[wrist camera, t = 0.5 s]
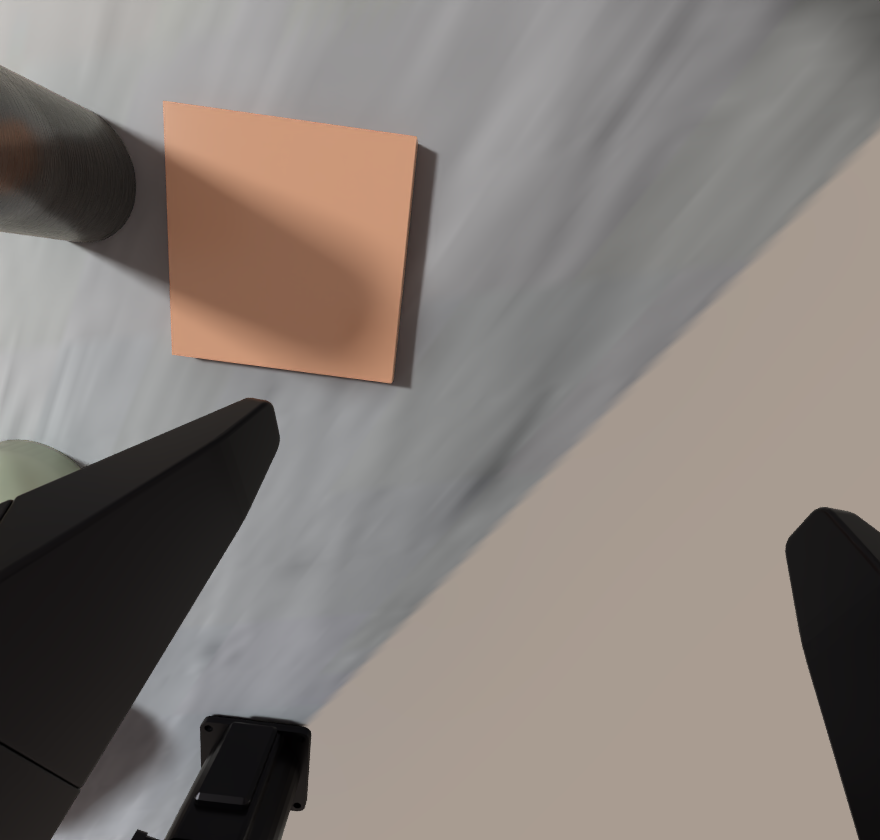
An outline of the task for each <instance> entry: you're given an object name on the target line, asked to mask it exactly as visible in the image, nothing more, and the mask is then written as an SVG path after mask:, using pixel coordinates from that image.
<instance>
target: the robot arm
mask: <svg viewBox="0 0 880 840" xmlns="http://www.w3.org/2000/svg"><path fill="white" fill-rule="evenodd" d="M279 442H280V435H279V430H278V425H277V421H276V416H275V411H274V407H273V405H272V404H271V403H270V402H269V401H266V400H260V399H255V398H246V399H243V400H241V401H238V402H236V403H234V404H231V405H229V406H227V407H224V408H222V409H220V410H217V411H215V412H213V413H210V414H208V415H206V416H203V417H201V418H199V419H196V420H194V421H192V422H189V423H187V424H185V425H182V426H180V427H178V428H175V429H173V430H171V431H168V432H166V433H164V434H161V435H159V436H157V437H154V438H152V439H150V440H147V441H145V442H143V443H140V444H138V445H135V446H133V447H131V448H128V449H126V450H124V451H121V452H119V453H117V454H114V455H112V456H110V457H107V458H105V459H103V460H100V461H98V462H96V463H93V464H91V465H89V466H86V467H84V468H82V469H79V470H77V471H75V472H72V473H70V474H68V475H65V476H63V477H61V478H58V479H56V480H54V481H51V482H49V483H47V484H44V485H42V486H40V487H37V488H35V489H33V490H30V491H28V492H26V493H23V494H21V495H19V496H17V497H16V498H15V499H14V500H11V499H10V500H7V501H4V502H2V503H0V840H51V838H52V837H53V835H54V833H55V832H56V830H57V828H58V827H59V825H60V823H61V822H62V820H63V819H64V817H65V815H66V814H67V812H68V810H69V809H70V807H71V805H72V804H73V802H74V800H75V799H76V797H77V795H78V794H79V792H80V788H81V787H82V786H83V785H84V783H85V782H86V780H87V778H88V777H89V775H90V773H91V772H92V770H93V768H94V767H95V765H96V763H97V762H98V760H99V759H100V757H101V755H102V754H103V752H104V750H105V749H106V747H107V745H108V744H109V742H110V740H111V739H112V737H113V736H114V734H115V732H116V731H117V729H118V727H119V726H120V724H121V722H122V721H123V719H124V717H125V716H126V714H127V713H128V711H129V709H130V708H131V706H132V704H133V703H134V701H135V699H136V698H137V696H138V694H139V693H140V691H141V689H142V688H143V686H144V685H145V683H146V681H147V680H148V678H149V676H150V675H151V673H152V671H153V670H154V668H155V666H156V665H157V663H158V662H159V660H160V658H161V657H162V655H163V653H164V652H165V650H166V648H167V647H168V645H169V643H170V642H171V640H172V639H173V637H174V635H175V634H176V632H177V630H178V629H179V627H180V625H181V624H182V622H183V620H184V619H185V617H186V616H187V614H188V612H189V611H190V609H191V607H192V606H193V604H194V602H195V601H196V599H197V597H198V596H199V594H200V592H201V591H202V589H203V588H204V586H205V584H206V583H207V581H208V579H209V578H210V576H211V574H212V573H213V571H214V569H215V568H216V566H217V565H218V563H219V561H220V560H221V558H222V556H223V555H224V553H225V551H226V550H227V548H228V546H229V545H230V543H231V542H232V540H233V538H234V537H235V535H236V533H237V532H238V530H239V528H240V526H241V525H242V523H243V521H244V520H245V518H246V516H247V514H248V512H249V510H250V508H251V505H252V503H253V501H254V499H255V497H256V495H257V493H258V490H259V488H260V486H261V484H262V482H263V480H264V478H265V475H266V473H267V471H268V469H269V467H270V465H271V463H272V460H273V458H274V456H275V454H276V452H277V449H278V447H279ZM785 552H786V559H787V565H788V571H789V576H790V582H791V588H792V593H793V599H794V605H795V610H796V616H797V621H798V627H799V633H800V637H801V642H802V647H803V650H804V654H805V658H806V662H807V665H808V669H809V672H810V675H811V679H812V682H813V685H814V689H815V692H816V696H817V699H818V702H819V706H820V709H821V713H822V716H823V720H824V723H825V726H826V730H827V733H828V736H829V740H830V743H831V747H832V750H833V753H834V757H835V760H836V764H837V767H838V770H839V774H840V777H841V781H842V784H843V787H844V791H845V794H846V797H847V801H848V804H849V808H850V811H851V815H852V818H853V821H854V825H855V828H856V832H857V835H858V838H859V840H880V532H879V531H877V530H876V529H875V528H873V527H872V526H871V525H869V524H868V523H867V522H865V521H864V520H863V519H861V518H860V517H859V516H857V515H856V514H854V513H851V512H848V511H844V510H838V509H833V508H828V507H821V508H818V509H816V510H814V511H813V512H812V513H811V514H810V515H809V516H808V517H807V518H806V519H805V520H804V522H803V523H802V524H801V525H800V526H799V527H798V528H797V529H796V531H794V532H793V534H792V535H791V536H790V537H789V538H788V541H787V543H786V550H785ZM200 740H201V770H200V772H199V774H198V776H197V778H196V779H195V781H194V783H193V785H192V787H191V789H190V791H189V793H188V795H187V797H186V799H185V801H184V803H183V804H182V806H181V808H180V810H179V812H178V814H177V816H176V818H175V820H174V822H173V824H172V826H171V828H170V829H169V831H168V833H167V835H166V837H165V839H164V840H281V838H282V835H283V831H284V828H285V825H286V822H287V819H288V815H289V812H290V810H292V811H301V810H303V809H304V808H305V805H306V801H307V791H308V775H309V760H310V745H311V731H310V730H309V729H308V728H306V727H301V726H292V725H284V724H275V723H267V722H258V721H250V720H241V719H233V718H224V717H216V716H208V717H206V718H205V719H204V721H203V722H202V724H201V726H200ZM147 834H148V833H147V832H144V831H141V830H137V831H136V833H135V834H134V836H133V838H132V839H131V840H159V839H156V838H153V837H150V836H147Z"/></svg>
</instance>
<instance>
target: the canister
mask: <svg viewBox="0 0 880 840" xmlns="http://www.w3.org/2000/svg"><path fill="white" fill-rule="evenodd" d="M135 189H136V183H135V174H134V170H133V166H132V162H131V160H130V157H129V154H128V152H127V150H126V148H125V146H124V144H123V143H122V141H121V139H120V138H119V137H118V135H117V134H116V133H115V131H114V130H113V129H112V128H111V127H110V126H109V125H108V124H107V123H106V122H105V121H104V120H103V119H102V118H100V117H99V116H98V115H96V114H95V113H93V112H92V111H90V110H88V109H86V108H84V107H82V106H80V105H78V104H76V103H74V102H72V101H70V100H68V99H66V98H64V97H62V96H60V95H58V94H56V93H54V92H52V91H50V90H49V89H47V88H45V87H43V86H41V85H39V84H37V83H35V82H33V81H31V80H29V79H27V78H25V77H23V76H21V75H19V74H17V73H15V72H13V71H11V70H9V69H7V68H5V67H3V66H1V65H0V232H6V233H14V234H21V235H29V236H36V237H44V238H51V239H58V240H66V241H73V242H84V243H88V242H96V241H100V240H103V239H106V238H108V237H110V236H111V235H113V234H115V233H116V232H117V231H118V230H119V229H120V228H121V227H122V226H123V225H124V224H125V222H126V221H127V219H128V217H129V215H130V213H131V211H132V208H133V204H134V200H135Z"/></svg>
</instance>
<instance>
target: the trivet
mask: <svg viewBox="0 0 880 840" xmlns="http://www.w3.org/2000/svg"><path fill="white" fill-rule="evenodd" d="M163 113H164V141H165V169H166V197H167V224H168V252H169V280H170V308H171V336H172V355H179V356H187V357H194V358H202V359H210V360H217V361H225V362H232V363H240V364H248V365H255V366H263V367H270V368H278V369H286V370H293V371H301V372H308V373H316V374H324V375H331V376H339V377H346V378H354V379H362V380H369V381H377V382H384V383H392V382H393V380H394V372H395V363H396V353H397V343H398V333H399V324H400V314H401V304H402V295H403V285H404V275H405V265H406V256H407V246H408V236H409V227H410V217H411V207H412V197H413V188H414V178H415V168H416V159H417V149H418V140H417V137H416V136H409V135H402V134H395V133H388V132H381V131H374V130H367V129H359V128H352V127H345V126H338V125H331V124H324V123H317V122H310V121H303V120H296V119H289V118H282V117H275V116H267V115H260V114H253V113H246V112H239V111H232V110H225V109H218V108H211V107H204V106H197V105H190V104H183V103H176V102H168V101H163Z"/></svg>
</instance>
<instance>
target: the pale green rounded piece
mask: <svg viewBox="0 0 880 840" xmlns="http://www.w3.org/2000/svg"><path fill="white" fill-rule="evenodd" d="M79 469H81V468H80V467H79V466H78V465H77V464H76V463H75V462H73V461H72V460H71V459H70V458H68V457H67V456H66V455H64V454H63V453H61V452H59V451H57V450H56V449H54V448H51V447H49V446H47V445H44V444H41V443H38V442H34V441H28V440H6V441H1V442H0V503H2V502H4V501H7V500H10V499H11V500H14V499H15V498H16V497H17V496H19V495H21V494H23V493H26V492H28V491H30V490H33V489H35V488H37V487H40V486H42V485H44V484H47V483H49V482H51V481H54V480H56V479H58V478H61V477H63V476H65V475H68V474H70V473H72V472H75V471H77V470H79Z"/></svg>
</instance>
